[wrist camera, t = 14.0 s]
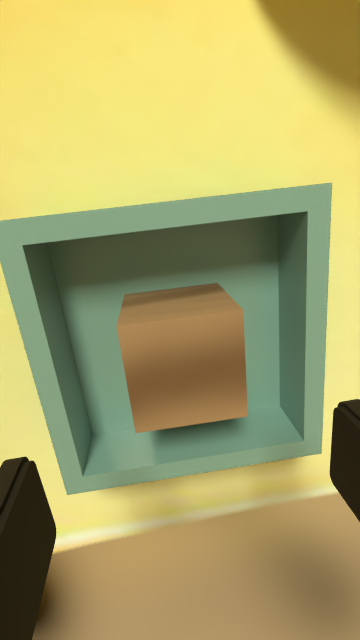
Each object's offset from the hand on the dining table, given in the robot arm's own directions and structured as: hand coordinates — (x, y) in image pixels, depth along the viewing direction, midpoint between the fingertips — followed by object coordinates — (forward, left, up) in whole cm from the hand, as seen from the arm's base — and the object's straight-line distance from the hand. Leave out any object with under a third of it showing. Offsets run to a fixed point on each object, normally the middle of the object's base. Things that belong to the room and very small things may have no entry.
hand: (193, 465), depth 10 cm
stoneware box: (0, +1, -14) cm, 13 cm away
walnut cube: (0, +1, -13) cm, 12 cm away
